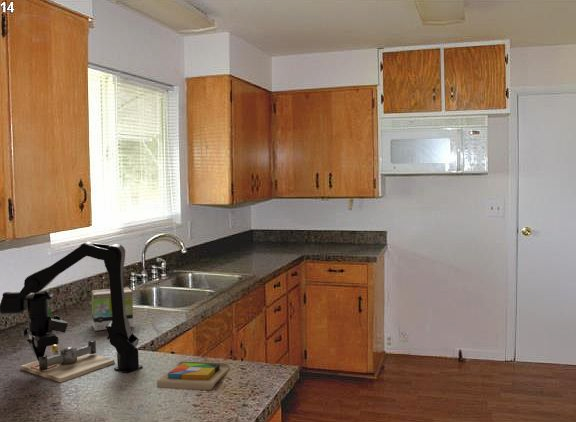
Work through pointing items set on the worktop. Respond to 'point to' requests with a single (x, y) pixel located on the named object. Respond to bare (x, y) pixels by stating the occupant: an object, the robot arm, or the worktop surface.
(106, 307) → the tea box
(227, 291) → the worktop surface
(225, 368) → the wooden puzzle
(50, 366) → the level window
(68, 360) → the bell crank
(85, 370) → the board
